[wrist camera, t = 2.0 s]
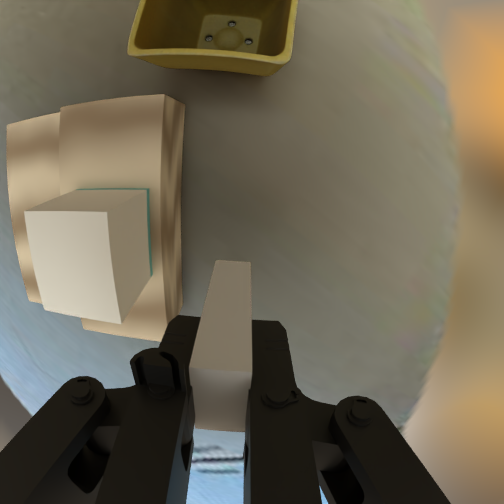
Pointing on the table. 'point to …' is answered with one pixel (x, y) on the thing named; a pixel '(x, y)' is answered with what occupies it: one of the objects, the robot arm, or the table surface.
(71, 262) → the cream block
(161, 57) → the flower pot
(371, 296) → the table surface
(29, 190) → the beech steps
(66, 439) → the robot arm
